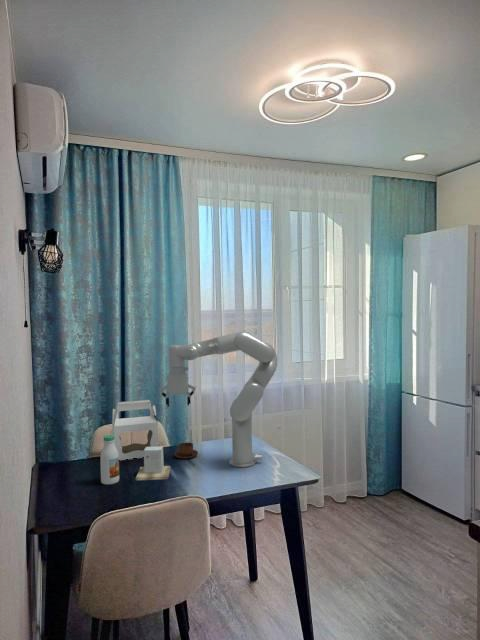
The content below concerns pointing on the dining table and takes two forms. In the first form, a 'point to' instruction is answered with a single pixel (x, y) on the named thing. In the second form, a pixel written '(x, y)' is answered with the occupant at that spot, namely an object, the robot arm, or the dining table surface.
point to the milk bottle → (109, 461)
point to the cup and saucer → (186, 451)
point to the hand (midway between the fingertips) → (178, 405)
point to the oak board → (153, 474)
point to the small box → (153, 459)
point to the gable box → (134, 428)
